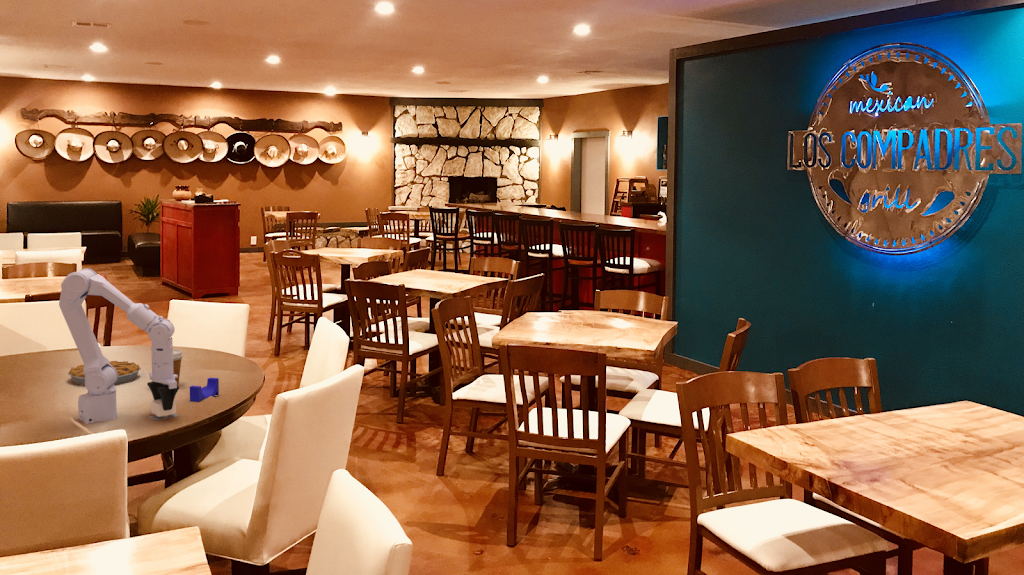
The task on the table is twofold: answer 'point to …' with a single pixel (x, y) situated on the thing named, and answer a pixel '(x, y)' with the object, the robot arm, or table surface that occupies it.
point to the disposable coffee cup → (177, 363)
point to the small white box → (158, 408)
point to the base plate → (162, 417)
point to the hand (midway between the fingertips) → (163, 407)
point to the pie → (123, 368)
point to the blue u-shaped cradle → (205, 390)
